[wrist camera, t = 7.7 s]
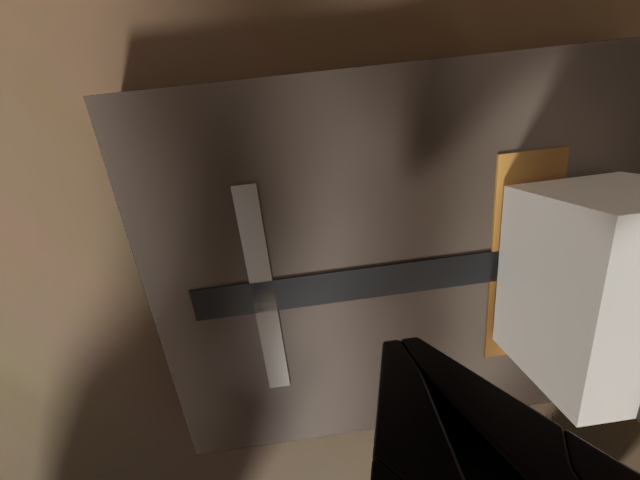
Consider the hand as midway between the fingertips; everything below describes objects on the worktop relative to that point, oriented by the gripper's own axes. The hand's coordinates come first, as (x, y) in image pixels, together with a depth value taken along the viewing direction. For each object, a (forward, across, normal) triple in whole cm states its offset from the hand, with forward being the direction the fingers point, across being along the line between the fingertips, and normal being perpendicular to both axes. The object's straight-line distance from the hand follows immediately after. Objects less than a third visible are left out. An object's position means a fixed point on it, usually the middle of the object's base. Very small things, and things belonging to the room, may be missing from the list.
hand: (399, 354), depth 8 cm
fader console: (+6, -1, 0) cm, 6 cm away
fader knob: (+4, -7, 0) cm, 8 cm away
